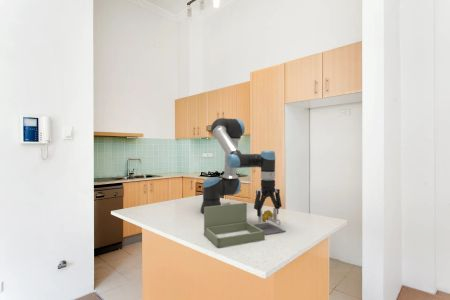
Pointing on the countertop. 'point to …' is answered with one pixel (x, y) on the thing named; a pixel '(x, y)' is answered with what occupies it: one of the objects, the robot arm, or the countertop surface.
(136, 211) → the countertop surface
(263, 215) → the pressure relief valve
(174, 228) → the countertop surface
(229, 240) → the case
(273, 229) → the pad
